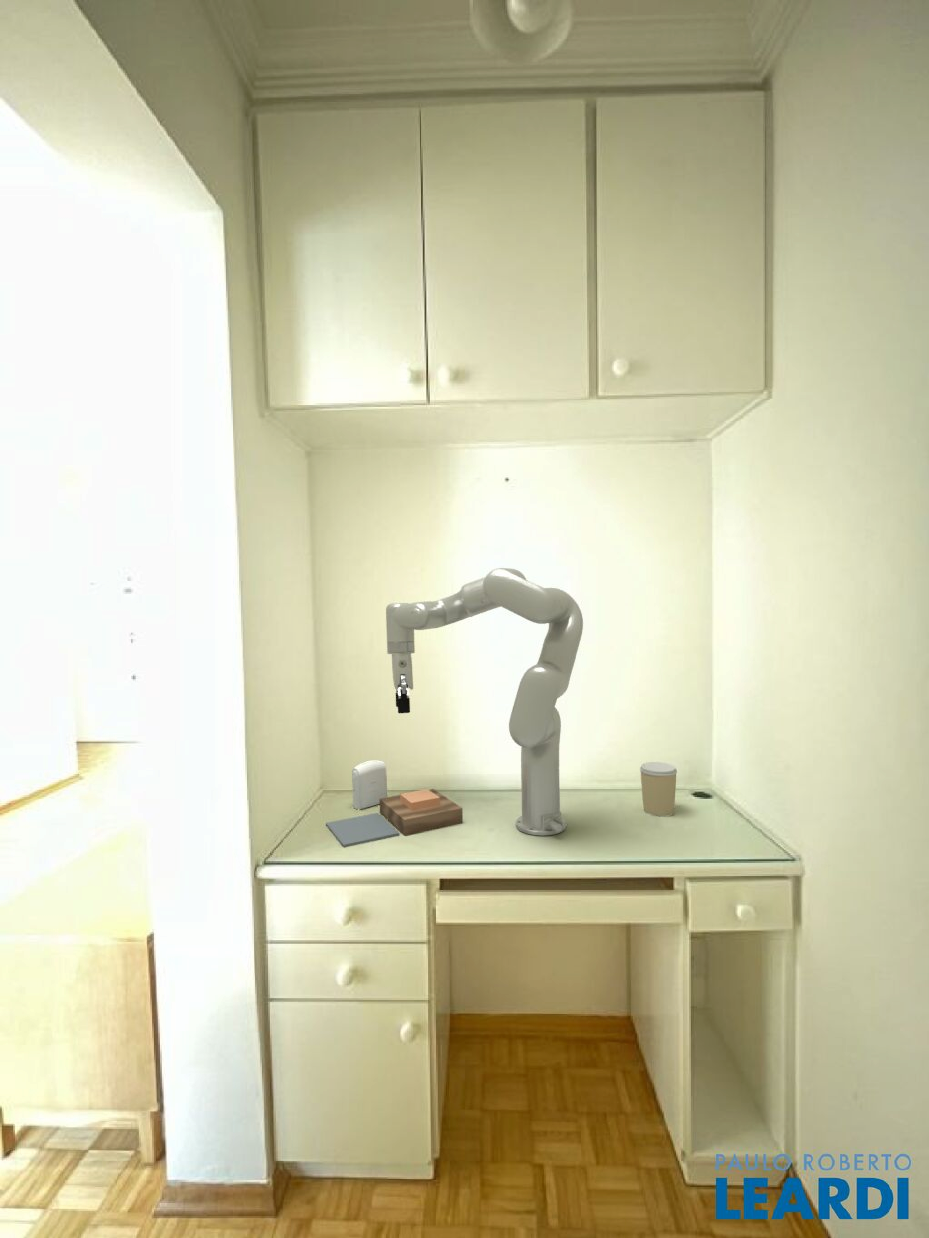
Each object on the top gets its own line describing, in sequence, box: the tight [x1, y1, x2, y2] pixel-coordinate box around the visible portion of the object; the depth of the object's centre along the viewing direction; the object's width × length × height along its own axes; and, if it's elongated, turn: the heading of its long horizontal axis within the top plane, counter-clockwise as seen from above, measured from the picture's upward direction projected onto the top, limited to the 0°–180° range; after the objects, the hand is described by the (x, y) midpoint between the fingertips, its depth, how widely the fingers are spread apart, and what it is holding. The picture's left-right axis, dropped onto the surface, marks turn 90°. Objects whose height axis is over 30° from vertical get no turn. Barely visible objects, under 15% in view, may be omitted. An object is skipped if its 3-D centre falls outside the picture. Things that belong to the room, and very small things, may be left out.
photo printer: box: [351, 759, 388, 810], centre depth 171 cm, size 10×4×12 cm, turn 133°
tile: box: [399, 788, 440, 811], centre depth 159 cm, size 8×8×2 cm
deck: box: [379, 788, 464, 837], centre depth 159 cm, size 18×16×4 cm
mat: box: [325, 812, 400, 848], centre depth 152 cm, size 16×14×1 cm
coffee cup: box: [639, 761, 678, 817], centre depth 161 cm, size 9×9×12 cm
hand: (402, 709), depth 167 cm, fingers open, 9 cm apart
